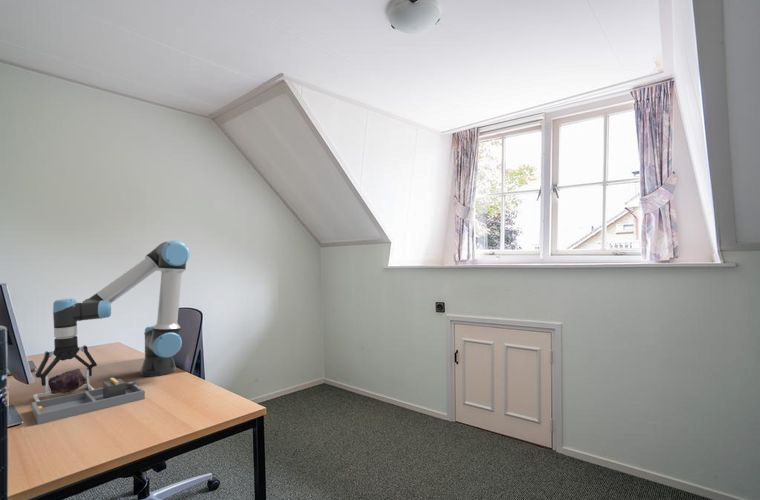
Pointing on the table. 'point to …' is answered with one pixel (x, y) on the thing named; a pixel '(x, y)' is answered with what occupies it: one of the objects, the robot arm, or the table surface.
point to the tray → (37, 396)
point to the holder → (87, 401)
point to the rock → (66, 382)
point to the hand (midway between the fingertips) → (67, 388)
